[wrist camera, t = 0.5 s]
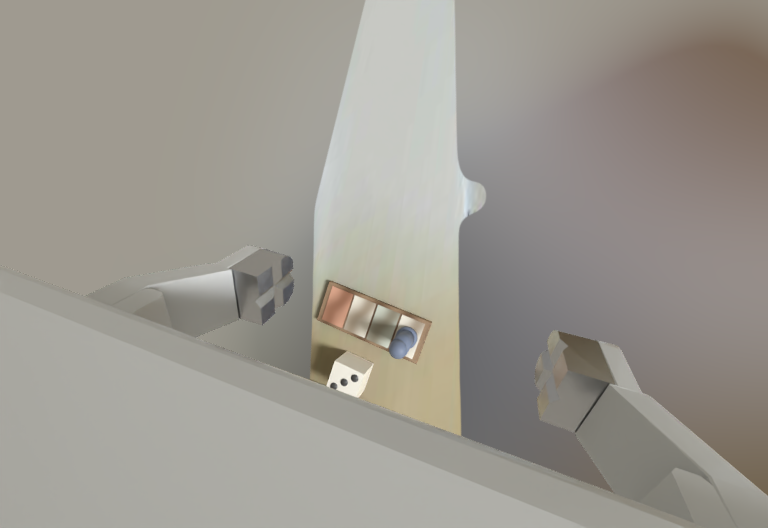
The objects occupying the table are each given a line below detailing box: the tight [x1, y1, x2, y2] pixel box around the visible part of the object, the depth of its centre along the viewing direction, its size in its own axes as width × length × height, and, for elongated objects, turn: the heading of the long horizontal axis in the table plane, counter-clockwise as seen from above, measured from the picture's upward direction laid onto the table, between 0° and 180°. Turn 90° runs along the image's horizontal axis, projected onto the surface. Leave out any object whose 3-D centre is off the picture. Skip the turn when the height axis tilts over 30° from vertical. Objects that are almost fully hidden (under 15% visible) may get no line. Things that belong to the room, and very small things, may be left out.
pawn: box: [389, 326, 417, 359], centre depth 54 cm, size 4×4×9 cm
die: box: [327, 351, 374, 398], centre depth 60 cm, size 6×6×6 cm
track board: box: [317, 281, 432, 364], centre depth 61 cm, size 22×8×1 cm, turn 72°
